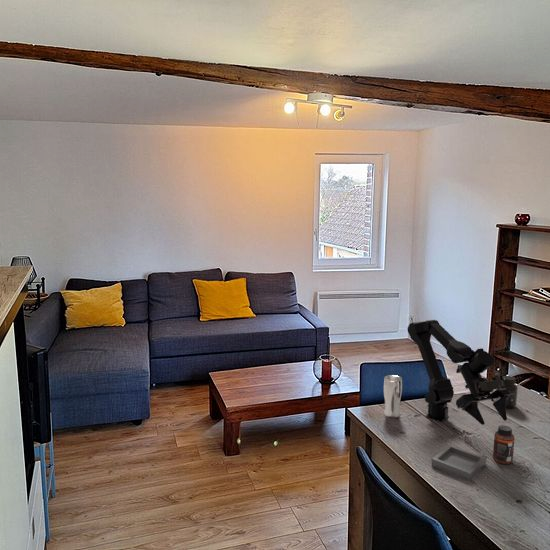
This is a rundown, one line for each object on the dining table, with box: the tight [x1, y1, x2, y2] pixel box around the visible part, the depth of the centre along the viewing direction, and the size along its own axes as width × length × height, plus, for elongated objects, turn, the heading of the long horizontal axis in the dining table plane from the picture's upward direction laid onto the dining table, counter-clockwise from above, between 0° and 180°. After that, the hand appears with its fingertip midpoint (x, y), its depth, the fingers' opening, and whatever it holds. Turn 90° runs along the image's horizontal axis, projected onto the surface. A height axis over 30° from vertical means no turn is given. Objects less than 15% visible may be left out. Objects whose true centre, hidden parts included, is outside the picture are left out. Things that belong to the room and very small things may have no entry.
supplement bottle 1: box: [500, 375, 519, 410], centre depth 205 cm, size 7×7×12 cm
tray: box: [431, 444, 487, 482], centre depth 161 cm, size 12×12×2 cm
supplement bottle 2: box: [492, 424, 515, 465], centre depth 164 cm, size 6×6×11 cm
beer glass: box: [383, 374, 403, 419], centre depth 197 cm, size 7×7×15 cm
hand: (494, 422), depth 167 cm, fingers open, 9 cm apart
